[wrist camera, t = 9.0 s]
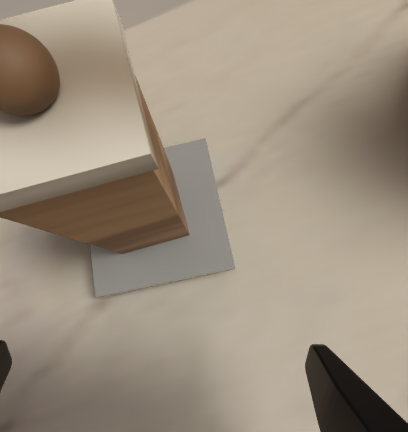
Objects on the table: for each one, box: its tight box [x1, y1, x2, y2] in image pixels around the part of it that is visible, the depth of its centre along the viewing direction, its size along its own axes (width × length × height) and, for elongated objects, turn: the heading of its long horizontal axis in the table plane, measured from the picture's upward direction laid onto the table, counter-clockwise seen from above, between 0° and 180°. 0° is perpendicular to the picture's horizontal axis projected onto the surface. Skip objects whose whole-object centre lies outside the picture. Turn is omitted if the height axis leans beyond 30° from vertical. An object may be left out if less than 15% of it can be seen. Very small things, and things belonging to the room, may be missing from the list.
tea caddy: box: [0, 0, 190, 254], centre depth 13 cm, size 5×5×15 cm
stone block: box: [90, 139, 235, 297], centre depth 22 cm, size 10×10×3 cm
